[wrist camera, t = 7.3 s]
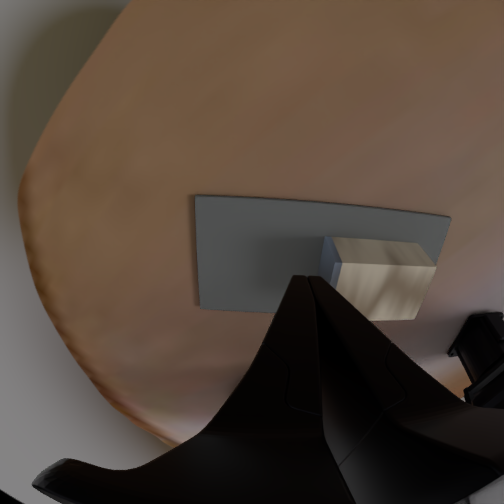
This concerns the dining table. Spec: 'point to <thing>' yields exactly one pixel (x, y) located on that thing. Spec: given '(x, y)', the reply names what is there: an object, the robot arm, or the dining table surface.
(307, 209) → the mat
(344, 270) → the block
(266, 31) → the dining table surface
